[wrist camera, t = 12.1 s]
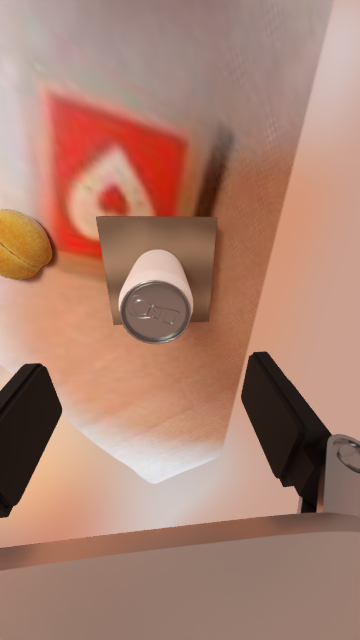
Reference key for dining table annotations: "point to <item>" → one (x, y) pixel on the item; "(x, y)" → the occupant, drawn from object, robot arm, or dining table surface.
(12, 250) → the bread roll
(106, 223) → the block
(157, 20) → the dining table surface
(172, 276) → the can
